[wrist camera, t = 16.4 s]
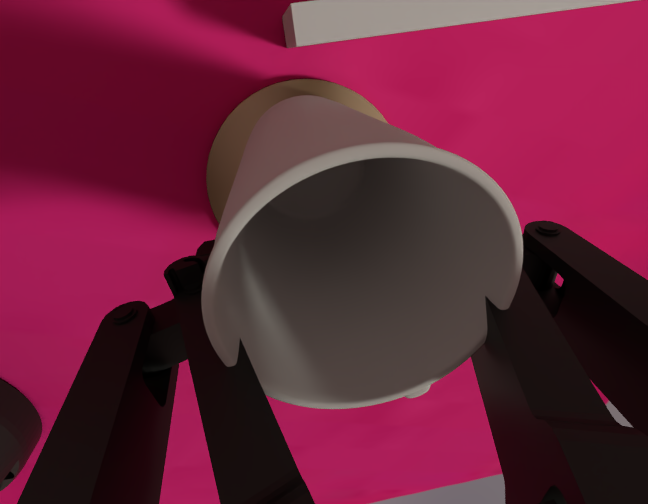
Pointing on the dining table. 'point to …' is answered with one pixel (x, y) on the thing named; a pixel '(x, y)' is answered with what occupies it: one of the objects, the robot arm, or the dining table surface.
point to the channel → (404, 16)
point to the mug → (355, 258)
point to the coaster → (247, 114)
